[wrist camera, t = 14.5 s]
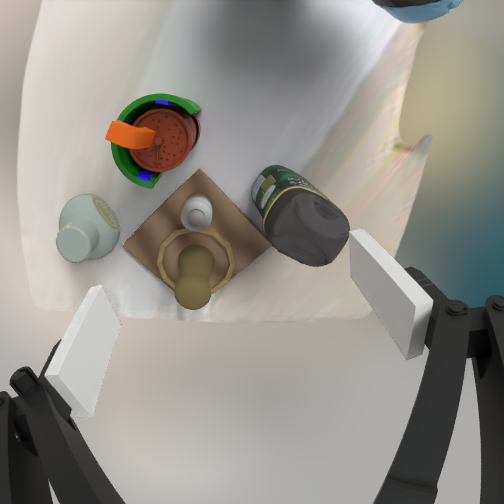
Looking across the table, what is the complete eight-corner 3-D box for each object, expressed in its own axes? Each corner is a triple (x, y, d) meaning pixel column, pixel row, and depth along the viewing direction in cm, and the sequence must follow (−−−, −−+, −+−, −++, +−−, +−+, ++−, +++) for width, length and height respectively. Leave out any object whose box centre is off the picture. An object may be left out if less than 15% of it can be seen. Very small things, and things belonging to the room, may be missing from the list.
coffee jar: (319, 185, 50) (367, 227, 33) (294, 225, 53) (328, 283, 36) (268, 155, 47) (296, 183, 31) (243, 198, 50) (256, 248, 33)
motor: (190, 167, 47) (172, 207, 29) (135, 154, 45) (86, 187, 27) (209, 104, 43) (202, 101, 25) (152, 91, 41) (108, 83, 23)
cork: (188, 281, 54) (183, 321, 44) (171, 253, 51) (162, 289, 41) (220, 269, 53) (221, 307, 43) (204, 239, 50) (202, 273, 41)
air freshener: (61, 209, 47) (34, 232, 38) (92, 181, 46) (67, 199, 37) (98, 256, 51) (78, 286, 43) (131, 232, 50) (114, 259, 41)
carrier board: (199, 168, 47) (196, 178, 40) (270, 241, 54) (277, 262, 47) (125, 242, 51) (112, 263, 44) (195, 303, 57) (193, 329, 51)
